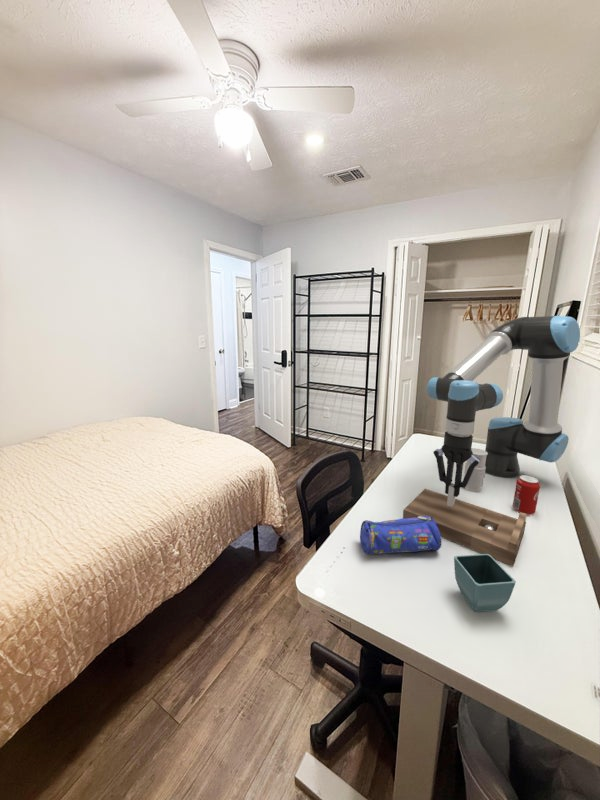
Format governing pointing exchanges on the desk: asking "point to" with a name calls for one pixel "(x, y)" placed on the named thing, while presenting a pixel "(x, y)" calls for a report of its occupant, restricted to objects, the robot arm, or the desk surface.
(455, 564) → the flower pot
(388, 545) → the pencil case
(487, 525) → the ball
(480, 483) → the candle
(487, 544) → the board
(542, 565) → the desk surface
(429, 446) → the desk surface
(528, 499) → the beverage can
